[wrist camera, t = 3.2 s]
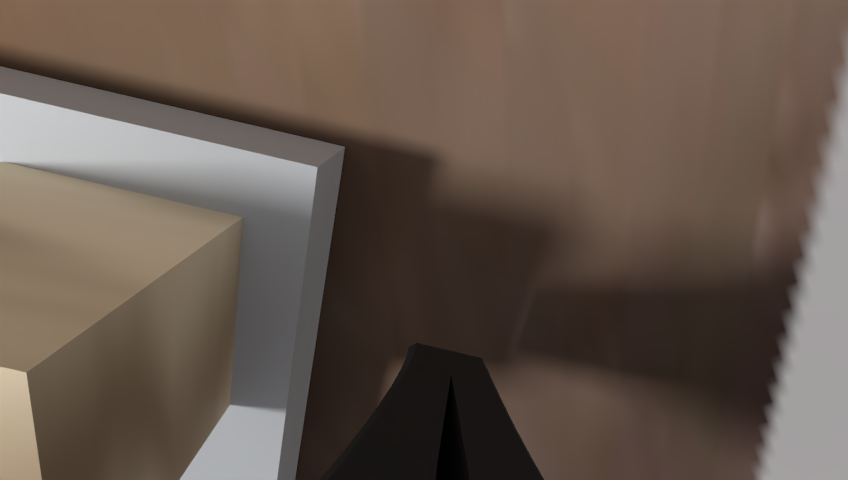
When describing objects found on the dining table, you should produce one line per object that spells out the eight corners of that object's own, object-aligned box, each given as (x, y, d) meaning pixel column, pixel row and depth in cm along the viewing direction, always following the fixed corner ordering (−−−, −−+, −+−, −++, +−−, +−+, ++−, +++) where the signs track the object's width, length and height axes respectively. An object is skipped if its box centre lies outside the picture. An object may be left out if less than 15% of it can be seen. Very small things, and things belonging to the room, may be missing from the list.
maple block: (230, 404, 10) (66, 648, 6) (30, 358, 10) (-274, 569, 6) (242, 217, 8) (27, 373, 4) (4, 161, 8) (-450, 262, 4)
